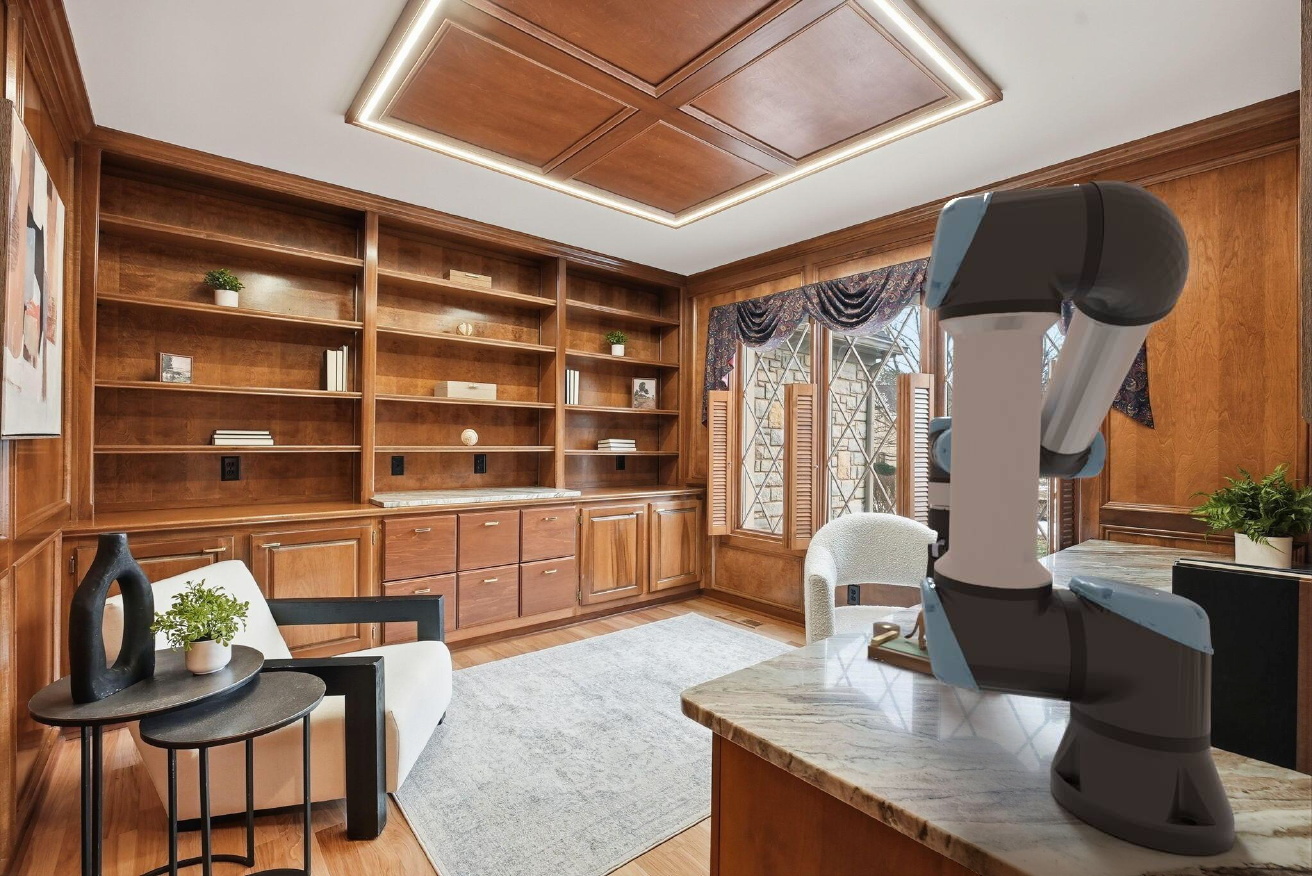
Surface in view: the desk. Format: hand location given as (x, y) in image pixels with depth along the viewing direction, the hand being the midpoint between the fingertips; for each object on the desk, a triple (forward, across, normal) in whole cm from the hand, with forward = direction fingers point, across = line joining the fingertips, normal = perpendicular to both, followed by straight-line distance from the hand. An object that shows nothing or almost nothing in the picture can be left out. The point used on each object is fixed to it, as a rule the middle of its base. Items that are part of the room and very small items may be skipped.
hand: (950, 640), depth 106 cm
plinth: (+5, 0, +2) cm, 5 cm away
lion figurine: (+3, +1, +2) cm, 3 cm away
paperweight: (+5, +7, +15) cm, 17 cm away
